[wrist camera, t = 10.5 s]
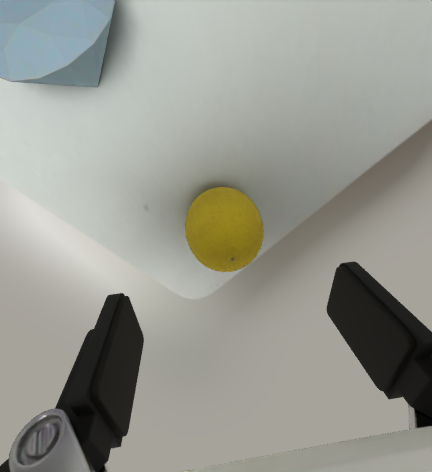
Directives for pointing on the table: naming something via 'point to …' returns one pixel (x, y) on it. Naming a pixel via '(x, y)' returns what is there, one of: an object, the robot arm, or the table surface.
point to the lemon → (224, 229)
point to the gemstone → (54, 40)
